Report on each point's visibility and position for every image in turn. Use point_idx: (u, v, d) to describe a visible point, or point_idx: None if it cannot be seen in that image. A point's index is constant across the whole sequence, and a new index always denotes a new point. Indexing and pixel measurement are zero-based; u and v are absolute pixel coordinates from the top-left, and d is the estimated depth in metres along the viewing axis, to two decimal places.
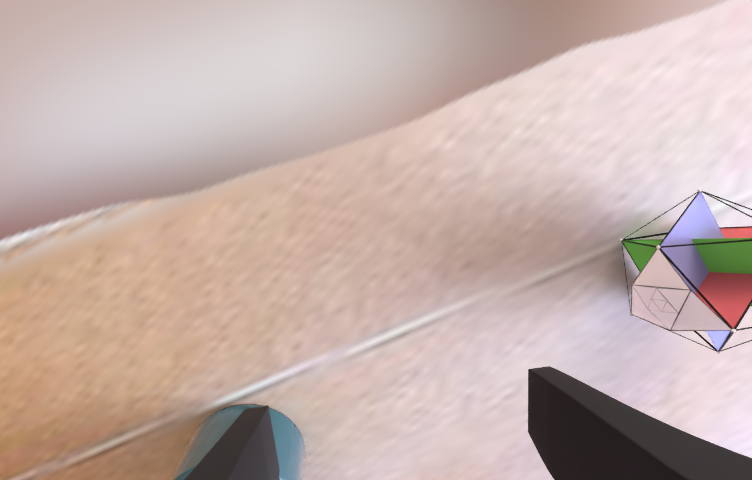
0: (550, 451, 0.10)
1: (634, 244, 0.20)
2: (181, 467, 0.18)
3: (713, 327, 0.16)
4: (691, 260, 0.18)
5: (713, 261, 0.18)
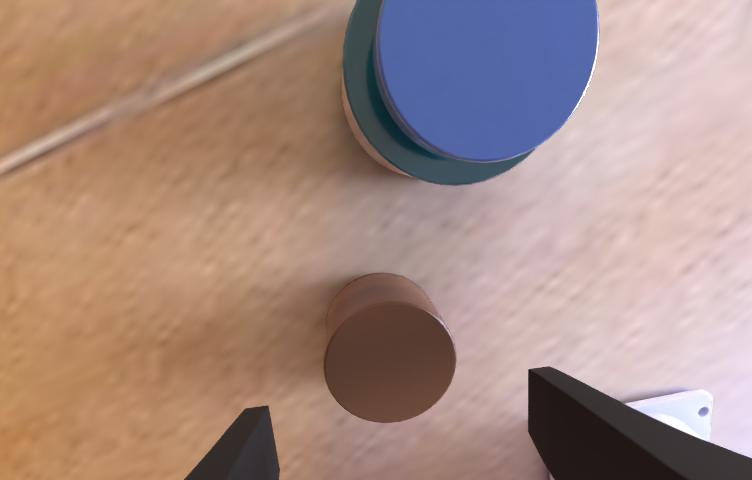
0: (550, 451, 0.10)
1: None
2: None
3: None
4: None
5: None
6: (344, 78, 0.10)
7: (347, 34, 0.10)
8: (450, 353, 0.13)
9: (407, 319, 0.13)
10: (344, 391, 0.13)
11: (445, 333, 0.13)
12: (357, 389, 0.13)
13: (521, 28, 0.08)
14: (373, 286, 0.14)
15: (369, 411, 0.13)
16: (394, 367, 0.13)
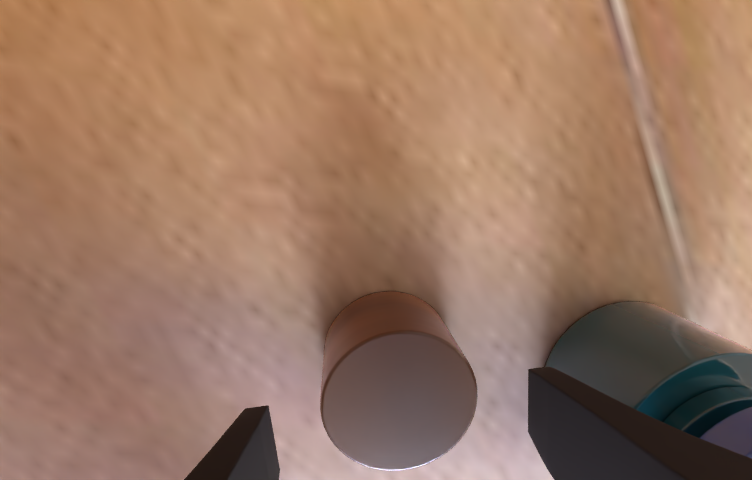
0: (550, 451, 0.10)
1: None
2: None
3: None
4: None
5: None
6: (720, 355, 0.11)
7: None
8: (410, 463, 0.11)
9: (456, 416, 0.11)
10: (369, 355, 0.10)
11: (436, 455, 0.11)
12: (370, 370, 0.11)
13: None
14: None
15: (339, 385, 0.11)
16: (397, 408, 0.11)
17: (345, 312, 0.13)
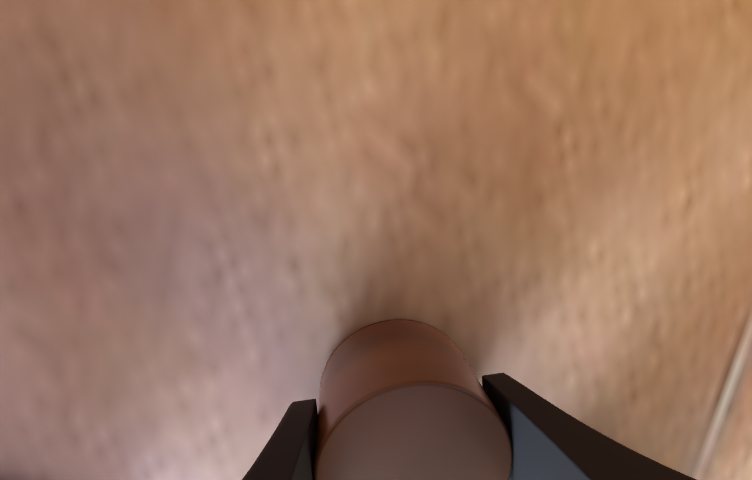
0: None
1: None
2: None
3: None
4: None
5: None
6: None
7: None
8: None
9: None
10: (423, 401, 0.08)
11: None
12: (413, 417, 0.08)
13: None
14: None
15: (369, 414, 0.08)
16: (409, 475, 0.09)
17: (387, 327, 0.11)
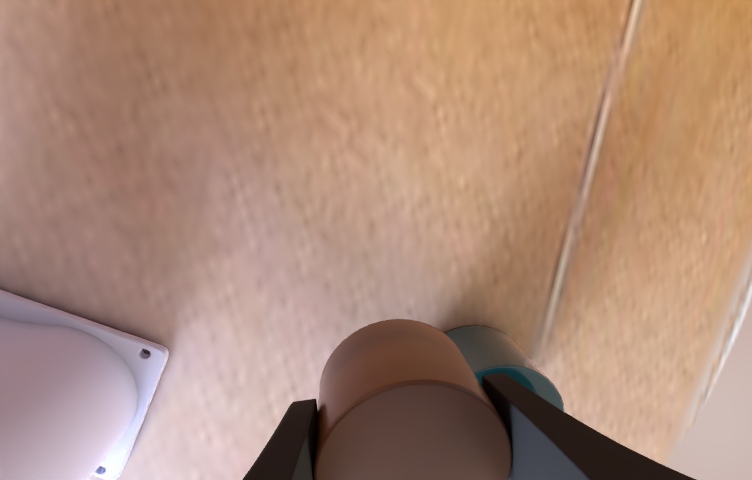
0: None
1: None
2: None
3: None
4: None
5: None
6: (534, 371, 0.17)
7: (551, 383, 0.17)
8: None
9: None
10: (423, 400, 0.08)
11: None
12: (413, 416, 0.08)
13: None
14: None
15: (368, 414, 0.08)
16: (409, 474, 0.09)
17: (387, 326, 0.11)
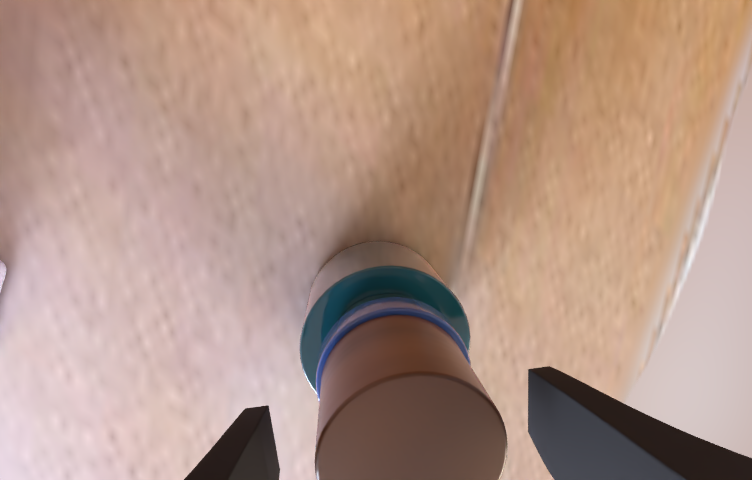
0: (550, 451, 0.10)
1: None
2: None
3: None
4: None
5: None
6: (426, 274, 0.14)
7: (449, 291, 0.14)
8: None
9: None
10: (421, 391, 0.08)
11: None
12: (411, 407, 0.08)
13: None
14: None
15: (368, 404, 0.08)
16: (407, 463, 0.09)
17: (386, 321, 0.11)
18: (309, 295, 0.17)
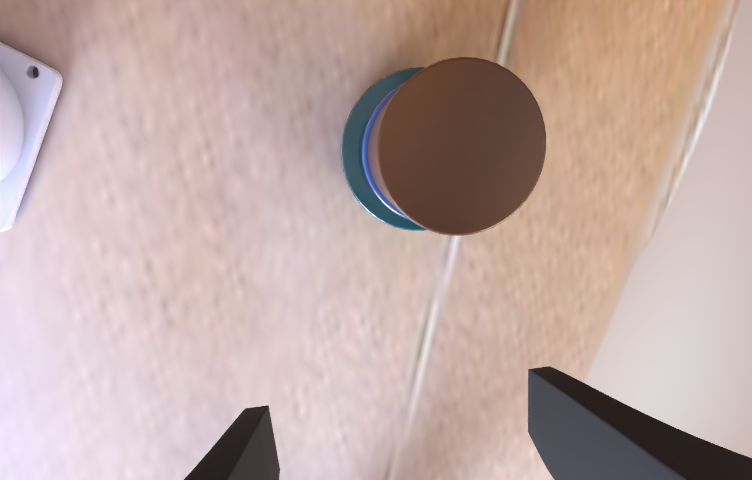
0: (550, 451, 0.10)
1: None
2: None
3: None
4: None
5: None
6: None
7: None
8: (426, 221, 0.10)
9: (498, 203, 0.10)
10: (475, 76, 0.10)
11: (453, 230, 0.10)
12: (466, 92, 0.10)
13: None
14: None
15: (429, 84, 0.09)
16: (458, 152, 0.10)
17: None
18: None
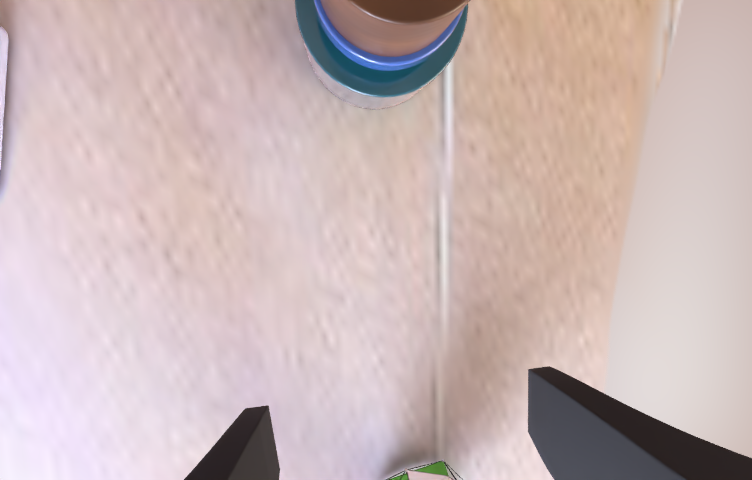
0: (550, 451, 0.10)
1: (441, 471, 0.23)
2: None
3: None
4: None
5: None
6: None
7: None
8: (386, 11, 0.09)
9: None
10: None
11: (418, 17, 0.09)
12: None
13: None
14: None
15: None
16: None
17: None
18: None
